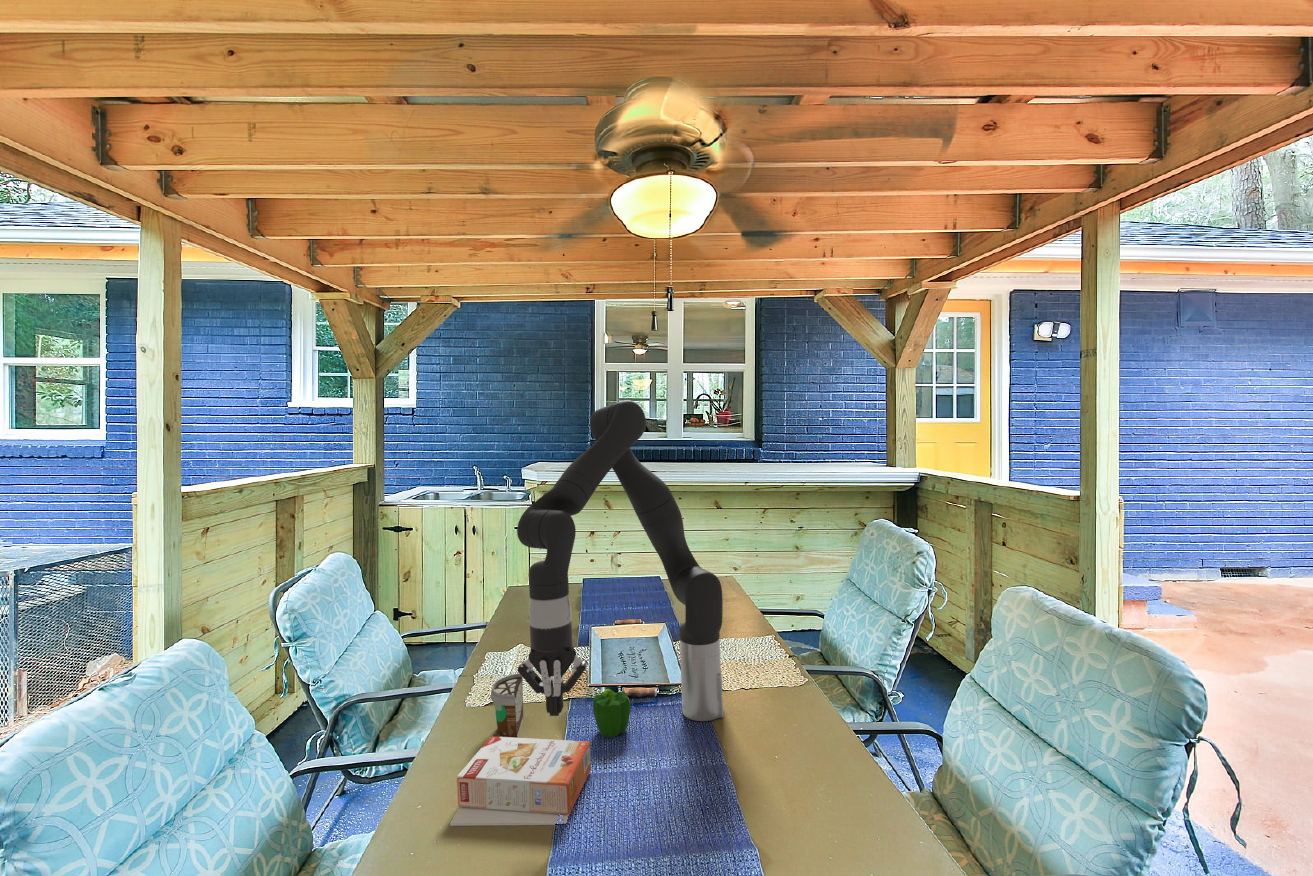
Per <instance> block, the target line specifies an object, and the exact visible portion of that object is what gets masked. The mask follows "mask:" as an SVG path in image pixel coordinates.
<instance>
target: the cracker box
mask: <svg viewBox="0 0 1313 876" xmlns="http://www.w3.org/2000/svg"><path fill="white" fill-rule="evenodd" d="M591 757H592V756H591V741H585V740H569V739H568V740H567V739H566V740H564V739H550V738H549V739H548V738H533V737H532V738H530V737H518V738H513V737H502V736H493V735H491V736H490V737H489V738H488V739H487V740H486V742H485V743H484V744H483V746H481V748H480V749H479V750H478V751H477V753H475V754H474V756H473V757H472V758H471V759H470V761H469V762H467V764H466V765H465V766H464V767H463V769H462V770H461V771H460V772H459V774H457V776H456V787H457V788H456V789H457V806H458V808H459V807H471V808H484V809H499V810H513V811H526V812H541V813H555V814H569V815H570V814H571V812H572V810H573V808H574V805H575V803H576V801H577V799H578V798H579V795H580V794H581V793H580V792H581V791H582V789H583V787H584V784H585V783H586V781H587V778H588V776H589V775H590V773H591V770H592V762H591V759H592V758H591Z"/></svg>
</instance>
